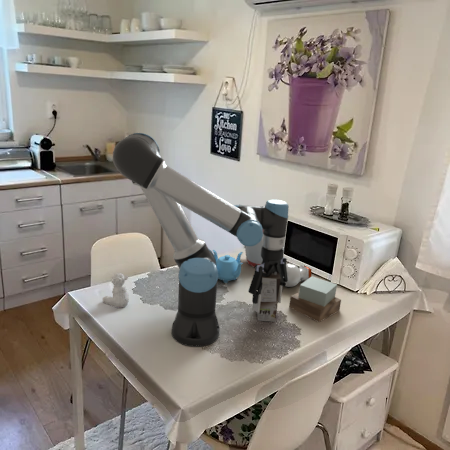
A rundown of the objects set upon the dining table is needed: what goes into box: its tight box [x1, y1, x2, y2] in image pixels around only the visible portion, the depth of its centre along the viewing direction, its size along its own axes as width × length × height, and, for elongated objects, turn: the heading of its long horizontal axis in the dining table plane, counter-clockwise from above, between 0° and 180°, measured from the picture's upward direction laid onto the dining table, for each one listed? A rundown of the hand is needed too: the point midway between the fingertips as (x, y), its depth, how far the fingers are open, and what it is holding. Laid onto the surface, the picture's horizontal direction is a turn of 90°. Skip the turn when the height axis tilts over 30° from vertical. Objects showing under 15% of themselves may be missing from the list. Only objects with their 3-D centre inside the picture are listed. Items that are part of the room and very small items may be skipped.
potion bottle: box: [284, 262, 313, 288], centre depth 174 cm, size 9×10×15 cm
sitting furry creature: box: [102, 272, 130, 309], centre depth 149 cm, size 10×9×12 cm
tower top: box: [298, 276, 338, 307], centre depth 154 cm, size 10×10×5 cm
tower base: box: [288, 292, 342, 323], centre depth 155 cm, size 13×13×5 cm
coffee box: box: [256, 272, 281, 322], centre depth 147 cm, size 9×6×16 cm
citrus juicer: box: [244, 239, 263, 268], centre depth 191 cm, size 16×17×20 cm
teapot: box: [212, 249, 244, 284], centre depth 174 cm, size 13×13×10 cm
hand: (266, 306), depth 149 cm, fingers closed on coffee box, 10 cm apart
